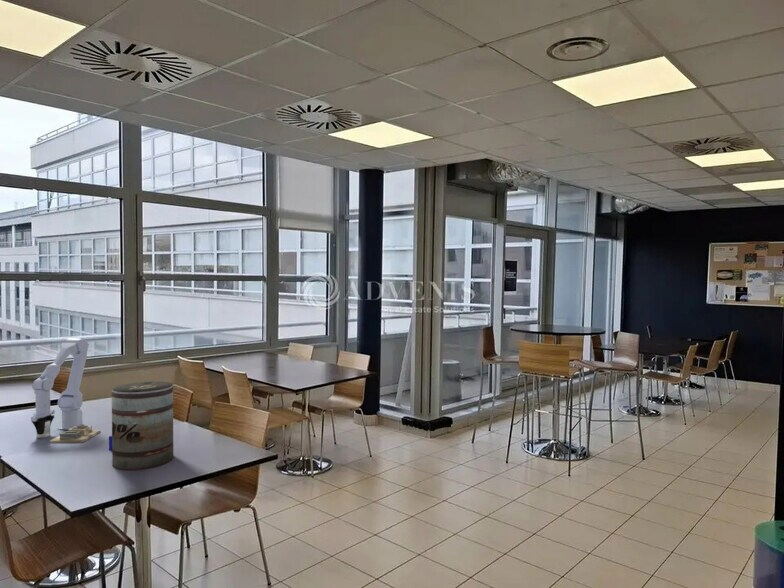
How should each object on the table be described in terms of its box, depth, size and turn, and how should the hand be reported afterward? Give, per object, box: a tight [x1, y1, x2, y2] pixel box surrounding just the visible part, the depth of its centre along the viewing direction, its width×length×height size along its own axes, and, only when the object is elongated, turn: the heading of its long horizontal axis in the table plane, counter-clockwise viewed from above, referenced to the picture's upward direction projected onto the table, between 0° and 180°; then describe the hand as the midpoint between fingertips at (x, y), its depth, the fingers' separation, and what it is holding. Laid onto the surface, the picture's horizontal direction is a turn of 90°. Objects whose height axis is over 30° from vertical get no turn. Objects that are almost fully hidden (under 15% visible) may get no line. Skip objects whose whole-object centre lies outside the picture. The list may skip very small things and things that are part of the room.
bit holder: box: [49, 425, 101, 444], centre depth 249 cm, size 16×14×4 cm
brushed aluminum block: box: [35, 420, 51, 439], centre depth 250 cm, size 4×4×7 cm
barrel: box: [111, 380, 174, 471], centre depth 217 cm, size 22×22×30 cm
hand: (43, 433), depth 250 cm, fingers closed on brushed aluminum block, 4 cm apart
